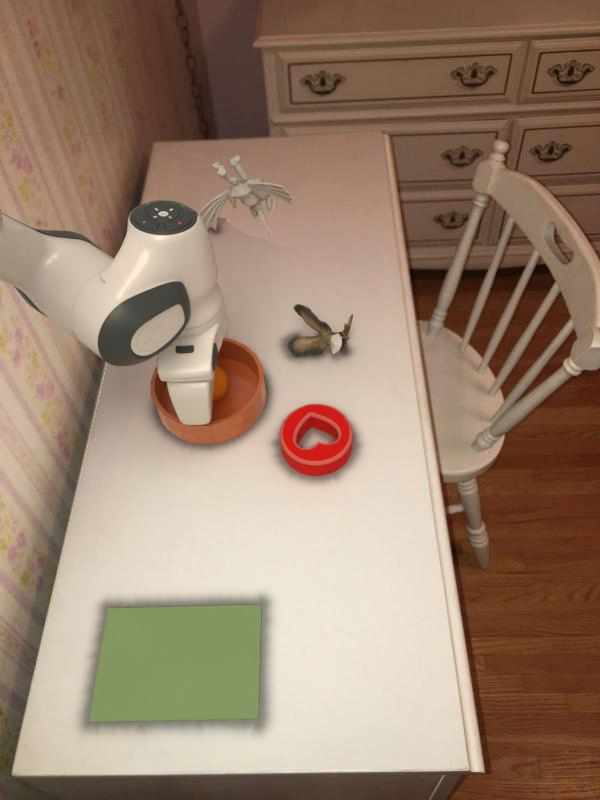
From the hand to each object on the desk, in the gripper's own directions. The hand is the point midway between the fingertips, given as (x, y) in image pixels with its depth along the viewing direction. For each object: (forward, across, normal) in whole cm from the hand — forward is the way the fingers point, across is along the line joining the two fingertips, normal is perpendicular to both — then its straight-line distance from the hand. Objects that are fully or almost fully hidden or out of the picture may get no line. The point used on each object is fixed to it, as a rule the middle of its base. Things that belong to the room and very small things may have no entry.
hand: (208, 387), depth 90 cm
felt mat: (+3, +36, -1) cm, 36 cm away
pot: (+3, 0, 0) cm, 3 cm away
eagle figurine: (+3, -9, +16) cm, 18 cm away
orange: (+2, 0, 0) cm, 2 cm away
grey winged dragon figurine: (+3, -39, +4) cm, 39 cm away
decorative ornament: (+3, +8, +15) cm, 17 cm away
